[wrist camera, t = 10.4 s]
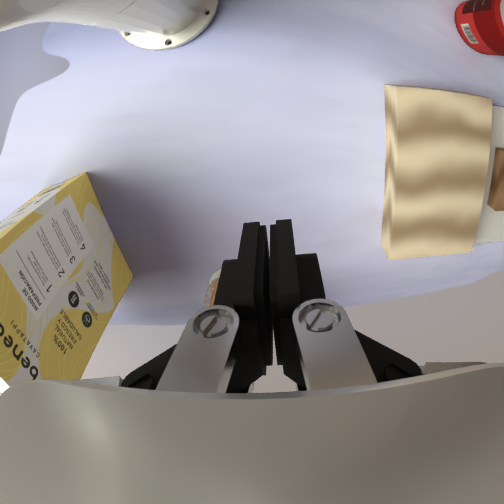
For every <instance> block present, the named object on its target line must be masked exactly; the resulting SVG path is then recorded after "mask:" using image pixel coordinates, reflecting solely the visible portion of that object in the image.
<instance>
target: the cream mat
mask: <svg viewBox="0 0 504 504" xmlns="http://www.w3.org/2000/svg"><path fill="white" fill-rule="evenodd" d="M495 147H498V148H504V107H499V106H494V105H492V126H491V142H490V153H489V163H488V171H487V178H486V185H485V192H484V198H483V203H482V209H481V214H480V219H479V224H478V228H477V233H476V237H475V241H474V244H477V243H487V242H498V241H504V211H495V210H493V209H492V208H491V207H490V206H489V205H487V202H488V197H489V191H490V185H491V178H492V171H493V164H494V155H495Z"/></svg>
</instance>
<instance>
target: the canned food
mask: <svg viewBox="0 0 504 504" xmlns="http://www.w3.org/2000/svg"><path fill="white" fill-rule="evenodd" d="M455 24H456V27H457V30H458V32H459V34H460V36H461V37H462V39H463V40H464V41H465V42H466V44H467V45H468V46H470V47H471V48H472V49H474V50H475V51H477V52H480V53H482V54H487V55H500V56H504V0H469V1H465V2H462V3H461V4H460V5H459V6H458V7H457V9H456V11H455Z"/></svg>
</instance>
